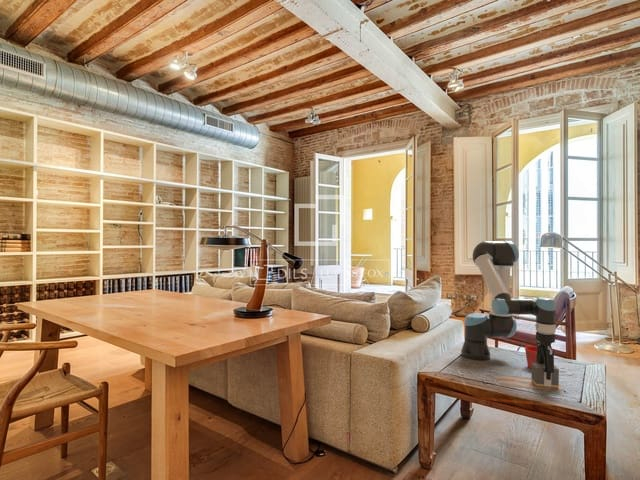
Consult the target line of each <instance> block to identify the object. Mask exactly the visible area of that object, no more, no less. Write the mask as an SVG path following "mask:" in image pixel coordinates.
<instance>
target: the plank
mask: <svg viewBox="0 0 640 480" xmlns="http://www.w3.org/2000/svg"><path fill="white" fill-rule="evenodd" d="M493 376H494V378H495V379H496V381H497V383H498V384H499V385H500V386H501V387H511V388H521V389H534V390H546V391H559V392H564V394H566V392H567V391H566V390H565V389H564V388H563V387H562V386H561V385H560V384H559V387H547V386H536V385H535V384H534V383H533V381H532V380H531V377H528V376H527V377H526V376H525V377H524V376H511V375H500V374H499V375H498V374H493Z"/></svg>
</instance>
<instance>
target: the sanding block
mask: <svg viewBox="0 0 640 480" xmlns="http://www.w3.org/2000/svg"><path fill="white" fill-rule="evenodd" d="M544 371H545V364H537V363H532V368H531V377H530V378H531V380H532V381H533V383H534V384H535V385H536V386H544ZM559 377H560V369H559V368H558V367H557V366H555V365H554V373H551V387H559V385H560V383H559V382H560V378H559Z"/></svg>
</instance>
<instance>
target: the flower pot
mask: <svg viewBox="0 0 640 480" xmlns="http://www.w3.org/2000/svg"><path fill="white" fill-rule="evenodd" d="M524 349H525V350H524V351H525V356H526V364H527V367H528V368H529V369H532V363H537V362H536V359H537V346H535V345H528V346H525V347H524ZM537 364H538V363H537Z"/></svg>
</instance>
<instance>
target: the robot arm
mask: <svg viewBox="0 0 640 480" xmlns="http://www.w3.org/2000/svg"><path fill="white" fill-rule="evenodd" d="M472 251H473V252H472V262H473V263H474V265H475V267H477V268H478V269H479V271H480V273H481V276H482V278H483V279H484V281H485V282H484V283H485V284H486V286H487V288H488V290H489V292H490V294H491V296H492V299H491V300H492V301H491V307H492V308H491V310H490V311H489V312H488V314H489V315H487V314H486V313H482V312H480V313H479V312H475V313H469V314H467V315H466V316H465V317H464V341H463V344H462V346H461V351H460V355H461V356H462V357H464V358H466V359H470V360H477V361H487V360H489V359H491V351H490V349H489V345H488V338H501V339H504V338H505V339H507V338H512V337H513V336H514V335H515V333H517V327H518V326H517V320H516V318H515V317H514V316H513V315H529V316H535V324H534V327H535V341H536V347H537V359H536V362H537V363H538V364H545V371H544V386H547V387H551V373H554V366H555V350H554V349H553V347H552V344H553V343H555V342H556V330H557V329H556V327H557V326H556V321H557V320H556V317H557V316H556V314H557V313H556V312H557V306H556V305H557V304H556V302H557V301H556V300H555V299H554V298H552V297H544V296H542V297H541V296H539V297H536V298H533V297H527V296H525V297H523V298H513V297H512V296H511V293H510V292H511V291H510V290H511V288H510V287H511V269H512V268H513V267H514V263H516V262H518V259H519V255H520V254H519V249H518V247H517V245H516V243H514V242H513V241H510V240H509V241H508V240H507V241H506V240H494V241H491V240H490V241H489V240H485V241H484V240H483V241H481V242H480V243H477V245H476V246H475V247H474V249H473V250H472Z"/></svg>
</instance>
